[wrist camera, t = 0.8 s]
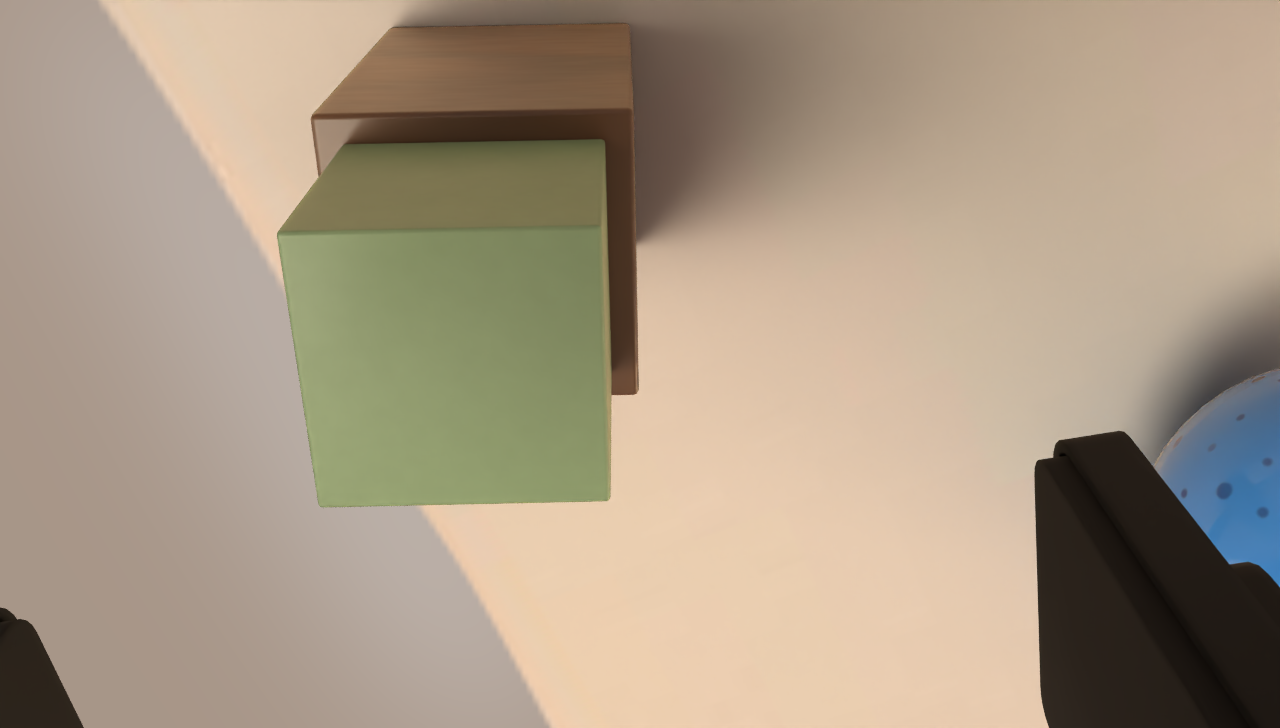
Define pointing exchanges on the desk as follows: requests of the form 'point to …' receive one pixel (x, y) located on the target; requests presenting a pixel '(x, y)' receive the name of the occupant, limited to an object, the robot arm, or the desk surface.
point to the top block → (454, 323)
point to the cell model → (1232, 471)
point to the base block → (507, 118)
